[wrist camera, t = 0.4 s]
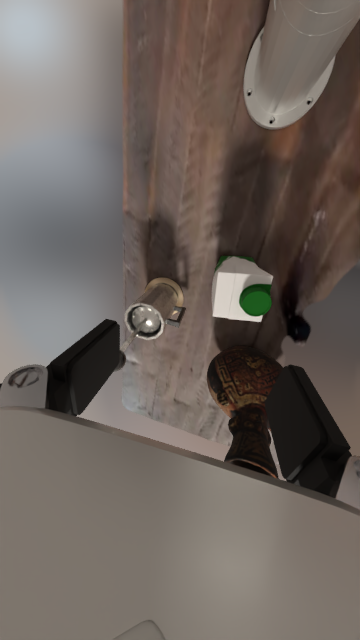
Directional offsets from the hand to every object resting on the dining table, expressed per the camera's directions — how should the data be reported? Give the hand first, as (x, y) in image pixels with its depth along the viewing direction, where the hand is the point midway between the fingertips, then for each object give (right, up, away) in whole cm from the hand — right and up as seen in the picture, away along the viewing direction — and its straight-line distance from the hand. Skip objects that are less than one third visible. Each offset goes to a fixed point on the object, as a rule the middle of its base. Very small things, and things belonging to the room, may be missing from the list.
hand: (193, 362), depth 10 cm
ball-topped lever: (-8, +3, +29) cm, 30 cm away
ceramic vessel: (+18, -9, +45) cm, 49 cm away
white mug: (-4, +8, +40) cm, 41 cm away
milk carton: (+12, +14, +34) cm, 39 cm away
